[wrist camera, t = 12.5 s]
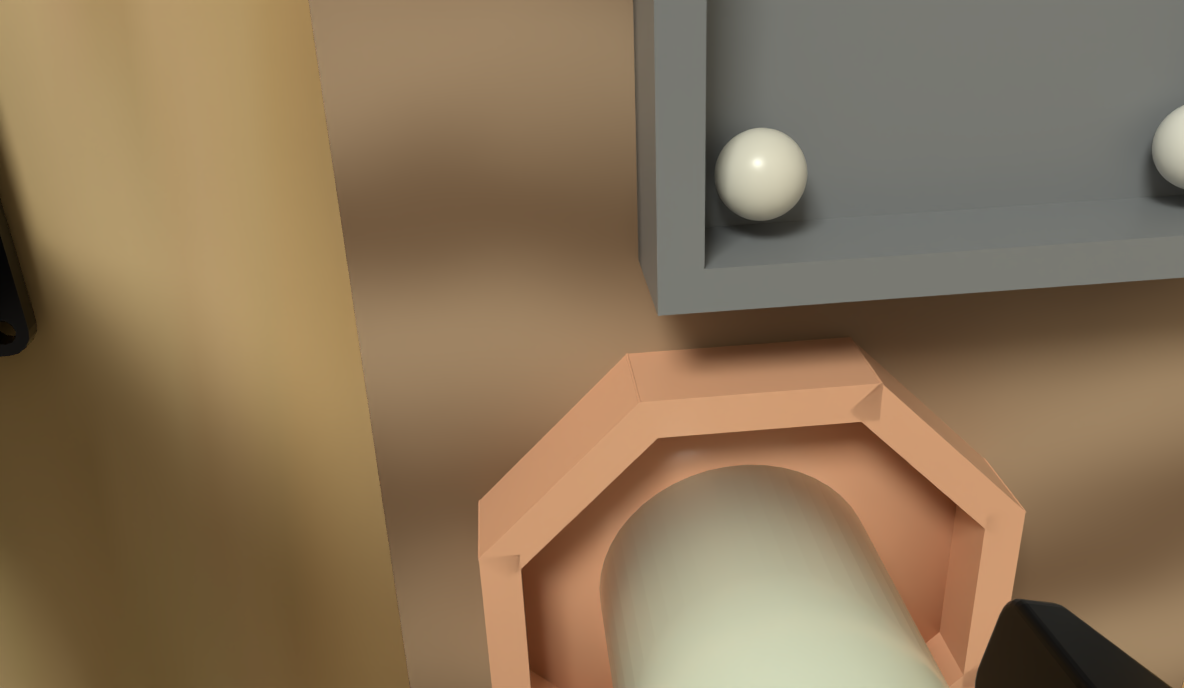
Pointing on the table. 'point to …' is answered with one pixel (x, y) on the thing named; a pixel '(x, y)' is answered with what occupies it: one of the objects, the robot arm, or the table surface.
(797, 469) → the terracotta dish
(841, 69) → the parts tray
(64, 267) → the table surface
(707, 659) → the pale green tall cylinder
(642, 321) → the walnut board
